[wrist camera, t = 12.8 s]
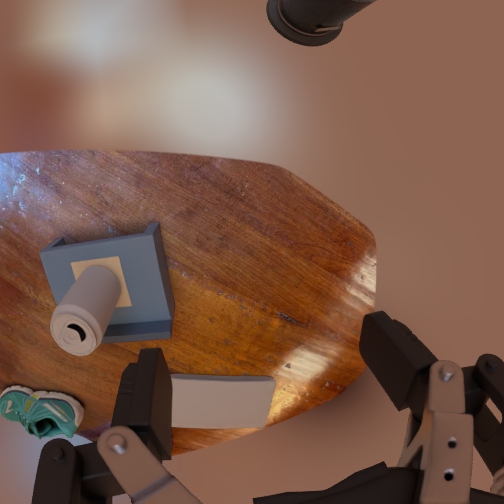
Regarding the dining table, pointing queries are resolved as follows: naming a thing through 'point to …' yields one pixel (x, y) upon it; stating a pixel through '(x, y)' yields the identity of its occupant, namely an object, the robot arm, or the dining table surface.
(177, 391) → the book
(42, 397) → the running shoe
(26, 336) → the dining table surface
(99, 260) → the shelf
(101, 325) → the beverage can
